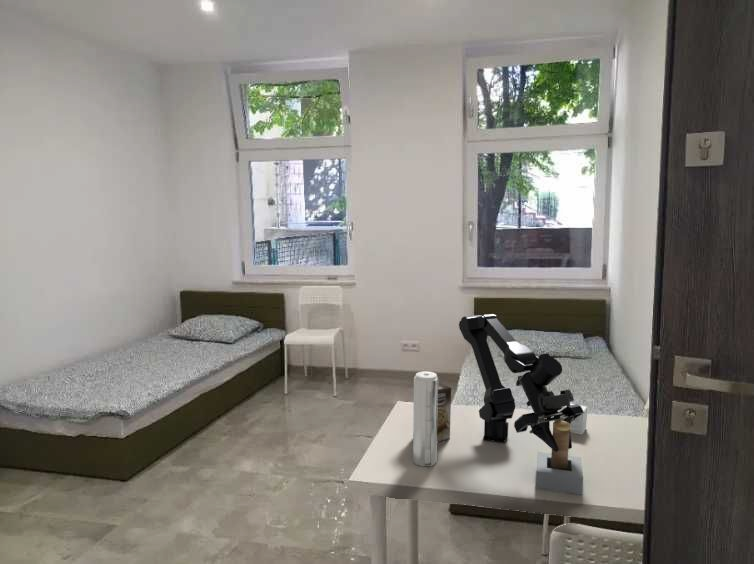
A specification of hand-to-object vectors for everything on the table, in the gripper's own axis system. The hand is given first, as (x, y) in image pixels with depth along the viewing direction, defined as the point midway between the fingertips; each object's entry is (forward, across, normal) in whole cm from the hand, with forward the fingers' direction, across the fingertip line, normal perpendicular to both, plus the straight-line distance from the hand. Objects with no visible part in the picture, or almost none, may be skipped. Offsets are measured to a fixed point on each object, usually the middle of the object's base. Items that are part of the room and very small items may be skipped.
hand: (563, 449), depth 140 cm
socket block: (+5, 0, +7) cm, 9 cm away
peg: (+4, 0, +6) cm, 7 cm away
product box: (-10, +26, +24) cm, 36 cm away
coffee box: (-19, -18, +32) cm, 41 cm away
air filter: (-10, -27, +24) cm, 37 cm away
